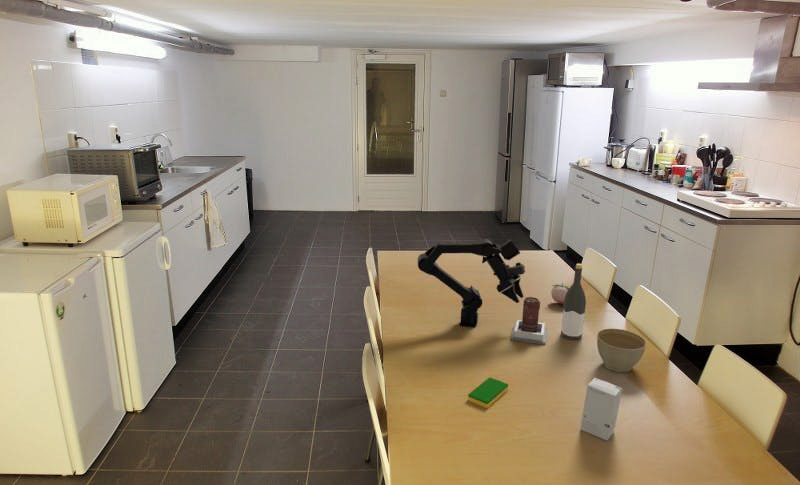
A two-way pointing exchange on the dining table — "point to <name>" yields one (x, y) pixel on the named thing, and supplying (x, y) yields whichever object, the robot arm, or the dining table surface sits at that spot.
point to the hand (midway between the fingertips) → (520, 299)
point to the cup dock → (529, 334)
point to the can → (530, 314)
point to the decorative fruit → (559, 292)
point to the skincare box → (601, 408)
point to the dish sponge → (488, 392)
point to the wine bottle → (574, 308)
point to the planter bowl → (620, 349)
